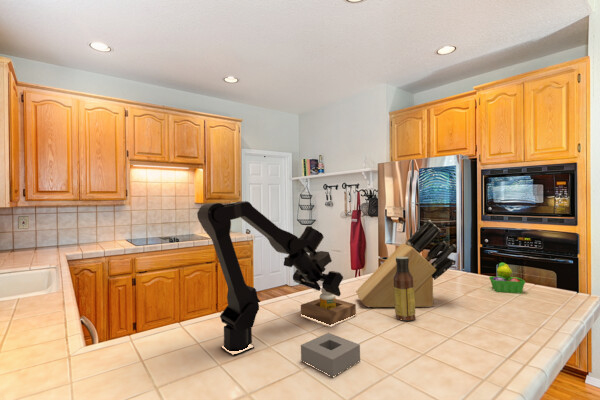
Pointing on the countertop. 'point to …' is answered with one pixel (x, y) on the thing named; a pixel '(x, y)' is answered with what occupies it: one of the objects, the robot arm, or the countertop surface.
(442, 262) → the knife block
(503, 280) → the fruit basket
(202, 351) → the countertop surface
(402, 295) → the sauce bottle
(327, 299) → the supplement bottle
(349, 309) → the walnut sleeve block
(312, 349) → the grey narrow collar
